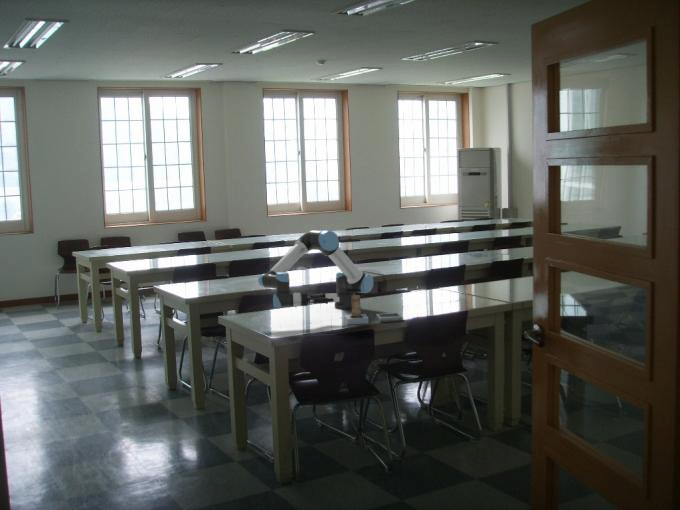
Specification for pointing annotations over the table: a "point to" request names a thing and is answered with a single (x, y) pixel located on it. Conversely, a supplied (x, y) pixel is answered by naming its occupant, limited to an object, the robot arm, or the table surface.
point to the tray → (389, 317)
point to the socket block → (356, 319)
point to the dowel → (356, 306)
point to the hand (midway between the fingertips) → (338, 297)
